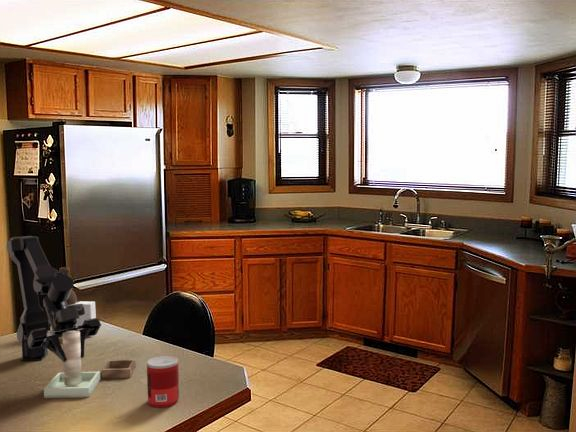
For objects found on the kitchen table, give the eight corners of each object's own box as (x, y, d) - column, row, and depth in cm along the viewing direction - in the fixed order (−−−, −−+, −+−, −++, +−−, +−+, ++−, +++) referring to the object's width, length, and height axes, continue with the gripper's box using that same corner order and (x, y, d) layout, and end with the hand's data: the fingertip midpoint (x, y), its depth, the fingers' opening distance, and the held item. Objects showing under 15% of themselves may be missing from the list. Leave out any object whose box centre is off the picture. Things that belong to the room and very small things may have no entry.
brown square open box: (102, 378, 162) (101, 369, 162) (108, 367, 170) (108, 359, 170) (130, 377, 163) (130, 369, 163) (136, 367, 171) (135, 359, 171)
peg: (60, 384, 154) (58, 334, 152) (72, 378, 158) (70, 329, 156) (73, 386, 152) (71, 336, 150) (85, 380, 156) (83, 331, 155)
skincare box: (97, 333, 204) (95, 301, 203) (91, 337, 199) (90, 304, 198) (80, 333, 204) (79, 300, 203) (75, 336, 200) (74, 303, 199)
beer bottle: (82, 330, 208) (80, 266, 205) (68, 336, 200) (65, 270, 198) (65, 328, 210) (63, 265, 208) (50, 334, 203) (47, 268, 201)
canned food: (184, 401, 147) (184, 360, 146) (158, 411, 141) (157, 368, 140) (167, 392, 152) (166, 353, 151) (142, 402, 147) (140, 361, 145)
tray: (44, 398, 149) (43, 389, 149) (58, 381, 160) (58, 372, 160) (89, 396, 150) (88, 387, 149) (100, 379, 161) (100, 371, 161)
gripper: (28, 301, 149) (44, 352, 142) (97, 290, 161) (115, 336, 154) (21, 323, 156) (36, 373, 149) (87, 311, 168) (104, 357, 161)
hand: (74, 359), depth 153 cm, fingers closed on peg, 4 cm apart
